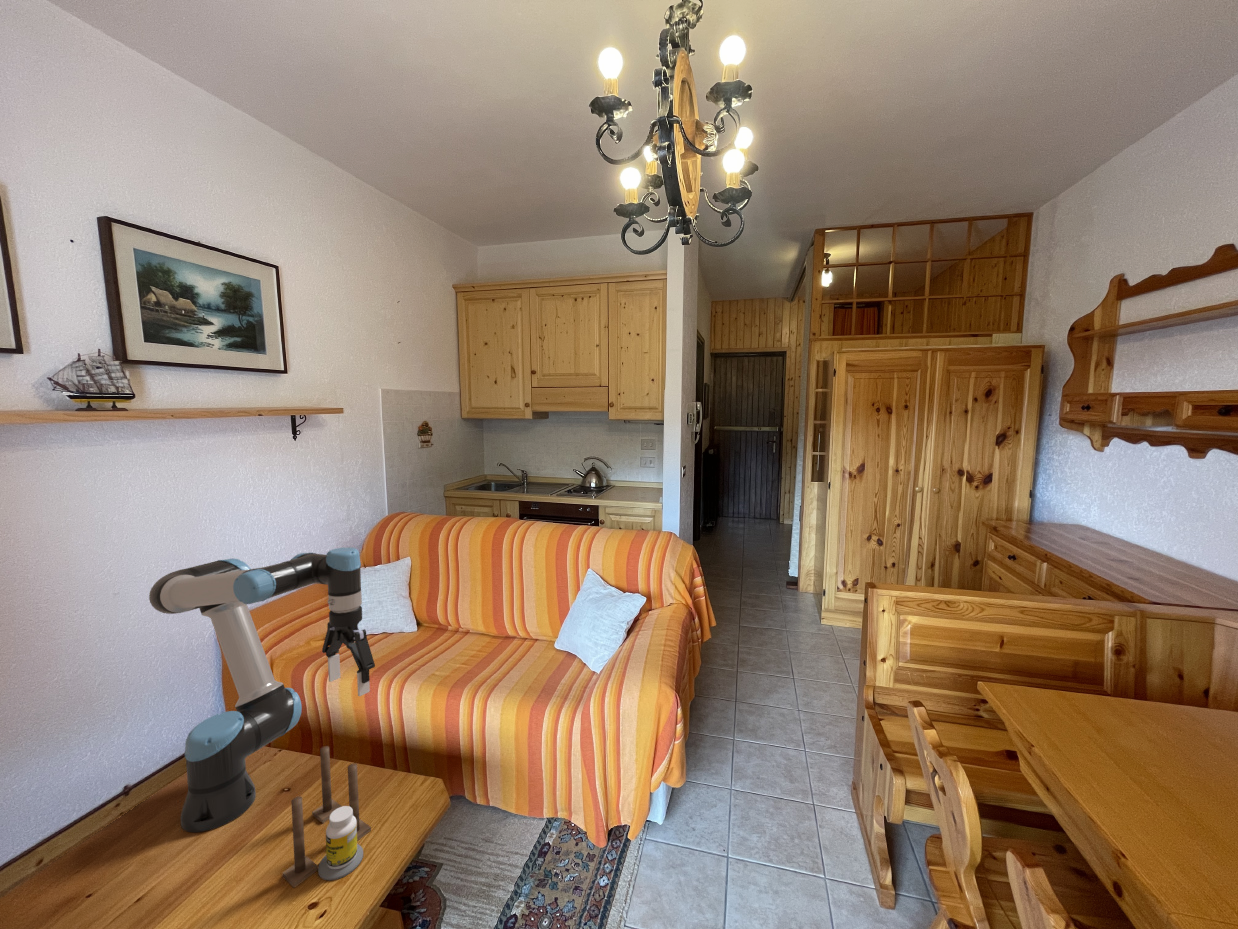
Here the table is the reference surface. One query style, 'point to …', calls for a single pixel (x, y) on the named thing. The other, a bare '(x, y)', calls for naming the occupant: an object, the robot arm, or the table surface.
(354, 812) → the post corner
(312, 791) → the table surface
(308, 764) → the table surface
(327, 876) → the coaster
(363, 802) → the table surface
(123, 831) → the table surface
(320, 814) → the post
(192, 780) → the robot arm
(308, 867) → the post
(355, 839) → the pill bottle
